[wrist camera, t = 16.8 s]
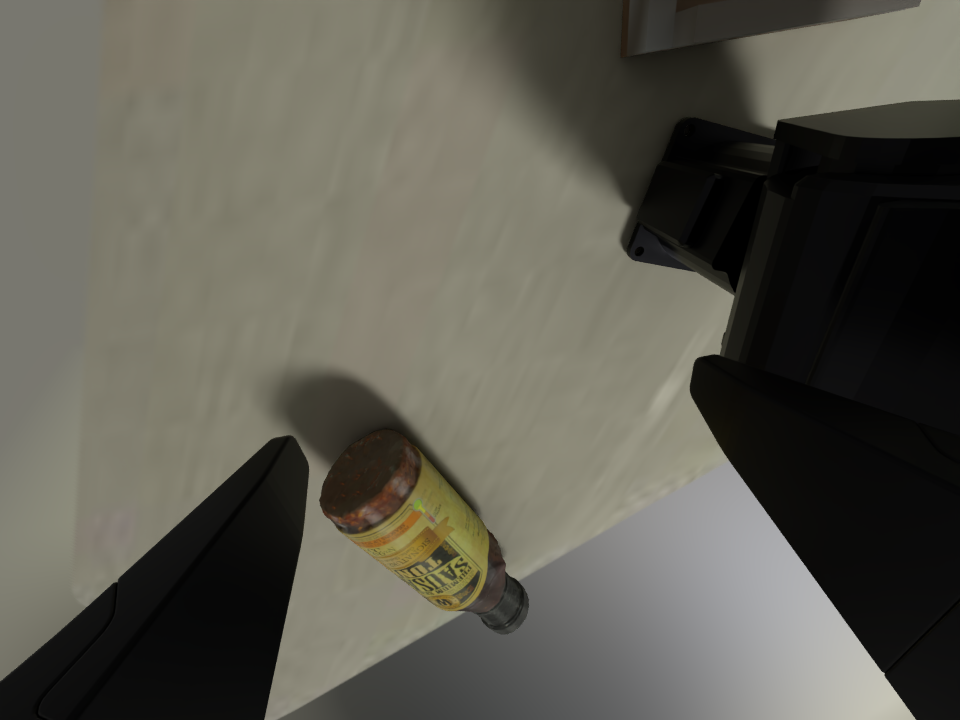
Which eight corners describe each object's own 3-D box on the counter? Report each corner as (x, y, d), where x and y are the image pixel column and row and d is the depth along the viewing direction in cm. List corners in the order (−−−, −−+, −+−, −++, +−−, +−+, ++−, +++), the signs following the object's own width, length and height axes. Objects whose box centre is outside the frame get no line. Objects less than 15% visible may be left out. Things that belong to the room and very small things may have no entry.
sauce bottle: (383, 503, 20) (552, 649, 29) (412, 410, 24) (548, 563, 34) (289, 529, 22) (474, 656, 32) (333, 440, 27) (481, 574, 37)
